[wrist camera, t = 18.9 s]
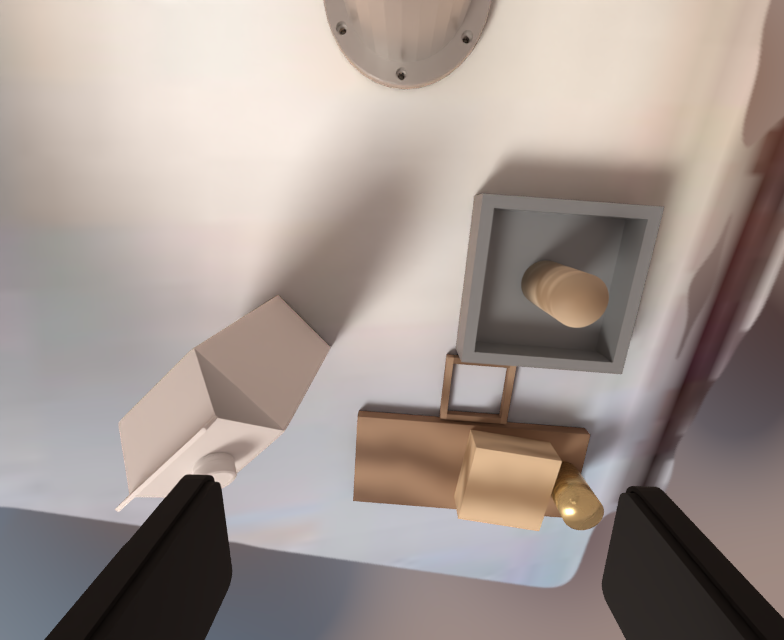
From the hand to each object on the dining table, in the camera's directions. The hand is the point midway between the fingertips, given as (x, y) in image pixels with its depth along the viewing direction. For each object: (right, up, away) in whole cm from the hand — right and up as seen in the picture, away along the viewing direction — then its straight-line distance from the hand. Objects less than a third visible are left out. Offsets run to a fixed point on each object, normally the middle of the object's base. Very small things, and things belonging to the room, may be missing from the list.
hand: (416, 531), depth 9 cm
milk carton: (-11, +3, +28) cm, 30 cm away
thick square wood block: (+11, -10, +30) cm, 33 cm away
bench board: (+7, -10, +31) cm, 33 cm away
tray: (+13, +8, +26) cm, 30 cm away
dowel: (+13, +8, +25) cm, 29 cm away
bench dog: (+17, -11, +30) cm, 36 cm away
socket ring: (+8, -2, +28) cm, 30 cm away
